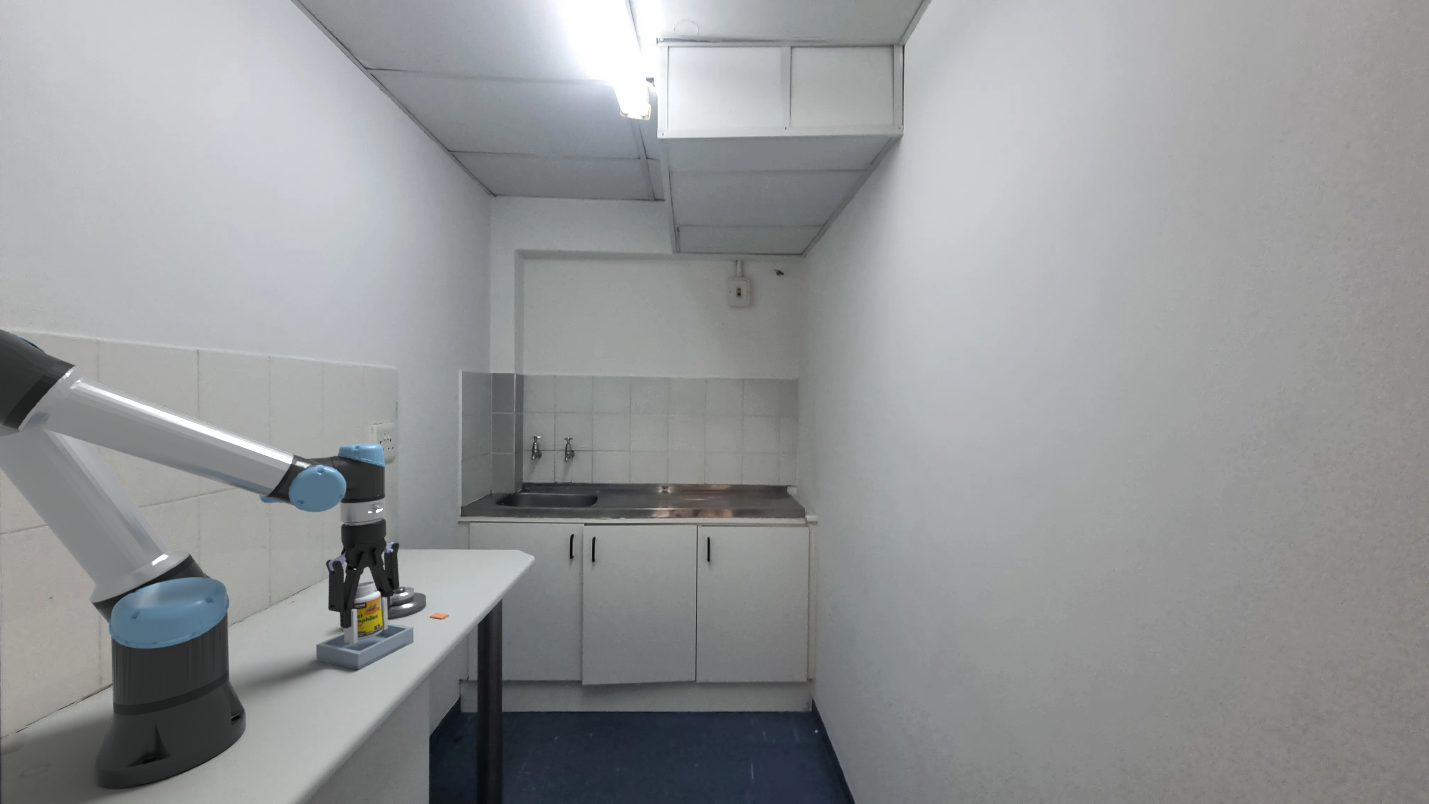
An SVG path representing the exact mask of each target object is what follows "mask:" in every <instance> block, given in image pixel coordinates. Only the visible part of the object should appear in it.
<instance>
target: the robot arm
mask: <svg viewBox="0 0 1429 804" xmlns="http://www.w3.org/2000/svg"><path fill="white" fill-rule="evenodd" d="M93 444H94V445H96V446H100V447H103V448H106V449H109V450H113V451H116V452H119V453H123V454H126V455H128V456H129V455H130V456H132V457H136V458H139V459H142V460H146V461H149V462H151V463H155V464H158V465H162V466H166V467H169V468H172V469H174V470H177V471H181V472H184V473H188V474H191V475H195V476H198V477H200V478H205V479H208V480H211V481H214V482H218V483H221V484H223V485H227V486H230V487H232V488H233V487H234V488H237V489H240V490H243V491H246V492H250V493H254V494H257V495H259V496H258V497H259V499H260V501H261V502H262V503H264V504H274V503H279V504H283V503H285V504H288V505H292V506H294V507H295V508H297V509H298V510H301V511H304V512H310V513H322V512H326V511H328V510H330V509H332V508H334V507H336V506H337V505H338V504H339V503H340V504H339V505H340V506H339V507H340V509H339V511H340V513H339V514H340V515H339V516H340V517H339V519H340V522H342V523H343V524H342V525H341V526H340V541H341V543H342V550H341V553H340V555H338V556H337V557H336V558H334V559H328V560H327V561H326V562H325V566H326V568H327V570H328V601H327V602H328V603H327V605H328V606H327V607H328V611H330V612H336V613H339V624H340V625H339V626H340V628H342V629H343V633H344V642H347V643H351V644H355V643H357V642H358V629H357V609H353V605H354V601H355V597H356V592H357V588H358V584H360V580H361V576H362V575H363V574H364V571H365V569H366V568H368V569H369V570H370V574H371V577H372V580H373V582H375V587H376V588H375V589H376V590H377V591H379V592H380V594H381V609H382V624H383V629H382V630H385V629H388V623H389V622H388V621H389V619H388V613H387V611H388V610H390V596H393V595H394V590H397V589H398V588H399V587H400V575H399V574H400V573H399V561H398V553H399V552H398V551H399V550H400V549H399V548H400V543H399V542H394V541H393V542H392V541H388V542H387V540H386V539H385V538H386V536H387V520H386V519H385V518H384V517H386V515H387V514H386V513H387V512H386V510H387V509H386V491H385V490H386V463H385V452H384V448H383V446H382V445H381V444H379V443H373V442H372V443H371V442H370V443H369V442H368V443H353V444H345V445H341V446H340V447H339V448H338V453H337V455H332V456H327V457H312V458H310V457H309V458H305V457H302V456H299V455H297V454H296V455H295V454H294V453H293V452H289V451H287V450H283V449H281V448H278V447H276V446H273V445H270V444H267V443H264V442H262V441H259V440H256V439H254V438H251V437H249V436H245V435H244V434H240V433H237V432H235V431H232V430H229V429H226V428H224V427H221V426H218V425H215V424H213V423H211V422H210V423H209V422H208V421H204V420H201V419H199V418H197V417H194V416H191V415H188V414H186V413H183V412H180V411H178V410H175V409H171V408H169V407H166V406H163V405H161V404H158V403H155V402H153V401H150V400H148V399H144V398H141V397H139V396H137V395H134V394H130V393H129V392H126V391H123V390H120V389H118V388H115V387H112V386H109V385H106V384H105V383H101V382H98V381H96V380H93V379H90V378H88V377H86V376H85V375H84V373H83V371H82V369H81V368H80V366H78V365H76V364H72V363H70V362H68V361H64V360H62V359H59V358H57V357H55V356H52V355H50V354H48V353H47V352H46V351H45V350H43V349H42V348H40V347H39V346H38V345H37V344H36V343H34V342H32V341H30V340H28V339H27V338H25V337H22V336H20V335H16V334H14V333H11V332H9V331H6V330H5V329H1V328H0V470H1V471H2V472H3V473H4V474H5V476H6V477H7V478H8V479H9V480H10V482H11V483H12V485H14V487H15V488H16V489H17V490H18V492H19V493H20V494H21V495H22V496H23V499H25V500H26V501H27V502H28V504H29V505H30V506H31V508H33V510H34V511H35V512H36V514H37V515H38V516H39V517H40V518H41V519H42V521H43V522H44V523H45V524H46V526H47V527H48V528H49V529H50V530H51V531H52V533H53V534H54V535H55V536H56V538H57V539H58V540H59V542H61V543H62V545H63V546H64V547H65V549H66V550H67V551H68V552H69V553H70V554H71V556H72V557H73V558H74V559H75V560H76V562H77V563H78V564H79V566H80V567H81V568H82V569H83V571H84V572H85V573H86V574H87V576H89V578H90V579H91V580H92V581H93V582H94V584H95V586H94V588H93V590H92V593H91V595H89V596H90V597H89V598H88V600H89V602H90V603H91V604H92V605H93V606H94V608H95V609H96V610H97V611H98V612H99V614H100V615H101V616H102V618H103V619H105V621H106V622H107V623H108V632H109V635H110V636H111V643H110V645H111V675H112V677H111V679H112V680H111V681H112V705H113V706H112V707H113V709H112V710H113V714H112V718H111V721H110V723H109V726H108V728H107V731H106V732H105V735H104V738H103V740H102V742H101V745H100V747H99V749H98V753H97V755H96V758H95V759H94V761H95V762H94V781H95V783H96V784H97V785H99V786H100V787H104V788H110V789H115V788H116V789H118V788H119V789H121V788H130V787H136V786H141V785H145V784H149V783H152V782H153V783H154V782H156V781H160V780H164V779H167V778H169V777H173V776H176V775H177V774H180V773H182V772H184V771H188V770H190V769H192V768H194V767H196V766H198V765H200V764H203V763H204V762H206V761H208V760H210V759H212V758H214V757H216V756H217V755H220V753H222V752H224V751H225V750H227V749H228V748H229V747H231V746H232V745H233V744H234V743H236V742H237V741H238V740H239V739H240V738H241V737H242V735H243V734H244V733H245V730H246V728H247V718H246V716H247V715H246V709H245V707H244V706H243V703H242V702H241V699H240V698H239V696H238V694H237V692H236V690H235V689H234V687H233V685H232V683H231V681H230V660H229V659H230V657H229V656H230V655H229V618H228V617H229V614H228V609H229V607H230V597H229V595H228V593H227V592H228V591H227V588H226V586H225V584H224V583H223V582H222V581H220V580H218V579H215V578H212V577H211V576H209V575H207V573H206V572H204V571H203V569H202V568H201V567H200V565H199V564H198V563H197V561H196V559H194V558H193V556H192V554H191V553H190V551H188V550H184V549H183V550H181V549H173V548H170V546H169V545H168V543H166V541H165V540H164V539H163V537H162V536H161V535H160V533H159V532H158V531H157V529H156V528H155V527H154V525H153V524H152V523H151V521H150V520H149V519H148V517H147V516H146V515H145V514H144V512H143V511H142V510H141V508H140V507H139V505H138V503H136V501H135V499H134V498H132V496H131V495H130V493H129V492H128V491H127V489H126V488H125V486H124V485H123V484H122V483H121V482H120V479H118V478H117V476H116V475H115V473H114V472H113V470H112V469H111V468H110V467H109V465H108V464H107V463H106V461H105V460H104V459H103V457H102V456H101V455H100V453H99V452H98V451H97V449H96V448H95V446H94V445H93ZM382 555H383V557H382ZM345 563H346V565H345ZM344 568H345V569H344Z"/></svg>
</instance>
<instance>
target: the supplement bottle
mask: <svg viewBox="0 0 1429 804" xmlns="http://www.w3.org/2000/svg"><path fill="white" fill-rule="evenodd" d="M353 609H357V629H358V640H364V639H368V638H371V637H374V636H376V635H378V634H379V633H380V632H381V631H382V629H383V624H382V609H381V594H380V592H379V591H377V589H376V586H375V582H374V581H365V582H361V583H360V582H359V584H358V588H357V592H356V597H355V601H354V605H353Z"/></svg>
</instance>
